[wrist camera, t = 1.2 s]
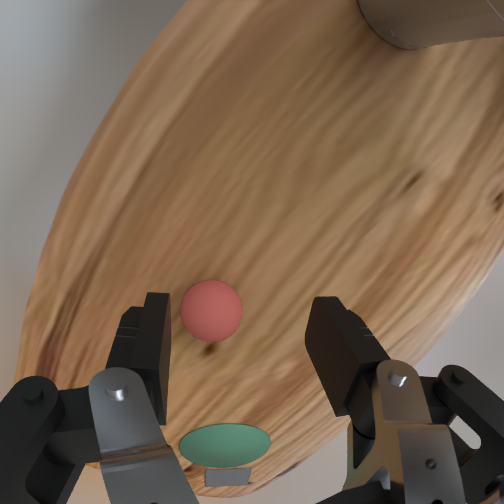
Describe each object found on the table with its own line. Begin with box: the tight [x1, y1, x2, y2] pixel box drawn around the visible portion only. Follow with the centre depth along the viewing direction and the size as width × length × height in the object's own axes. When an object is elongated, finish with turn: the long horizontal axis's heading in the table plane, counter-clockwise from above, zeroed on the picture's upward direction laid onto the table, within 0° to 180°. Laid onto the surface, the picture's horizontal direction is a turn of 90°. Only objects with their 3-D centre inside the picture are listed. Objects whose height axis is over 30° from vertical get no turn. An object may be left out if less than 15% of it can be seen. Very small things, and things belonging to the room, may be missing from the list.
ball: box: [180, 280, 243, 342], centre depth 27 cm, size 6×6×6 cm
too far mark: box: [206, 468, 252, 487], centre depth 46 cm, size 8×8×1 cm
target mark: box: [180, 424, 270, 468], centre depth 41 cm, size 14×14×1 cm
